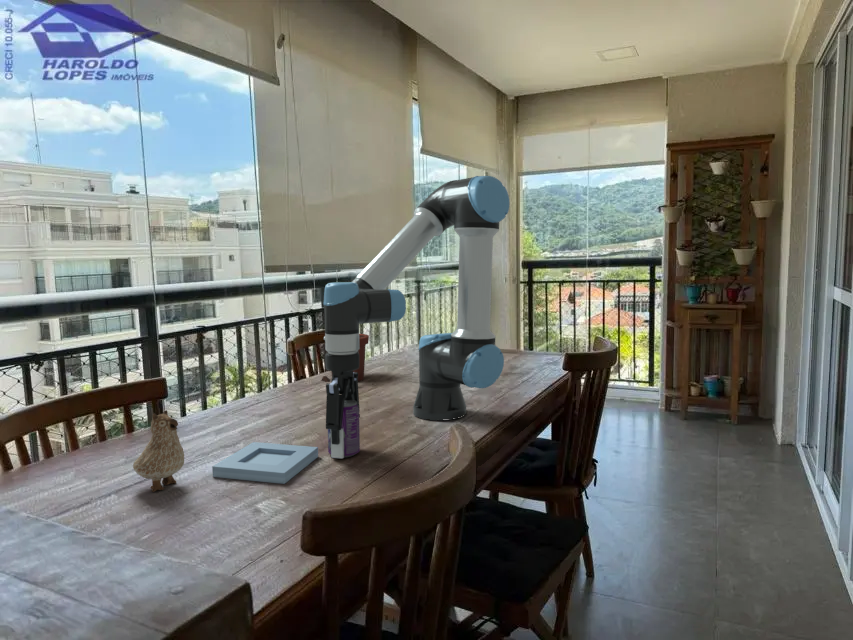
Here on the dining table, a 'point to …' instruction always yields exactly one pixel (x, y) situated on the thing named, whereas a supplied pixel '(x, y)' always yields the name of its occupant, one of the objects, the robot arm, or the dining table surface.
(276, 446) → the baseplate
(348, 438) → the beverage can
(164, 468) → the figurine
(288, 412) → the dining table surface
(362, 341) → the potted plant
